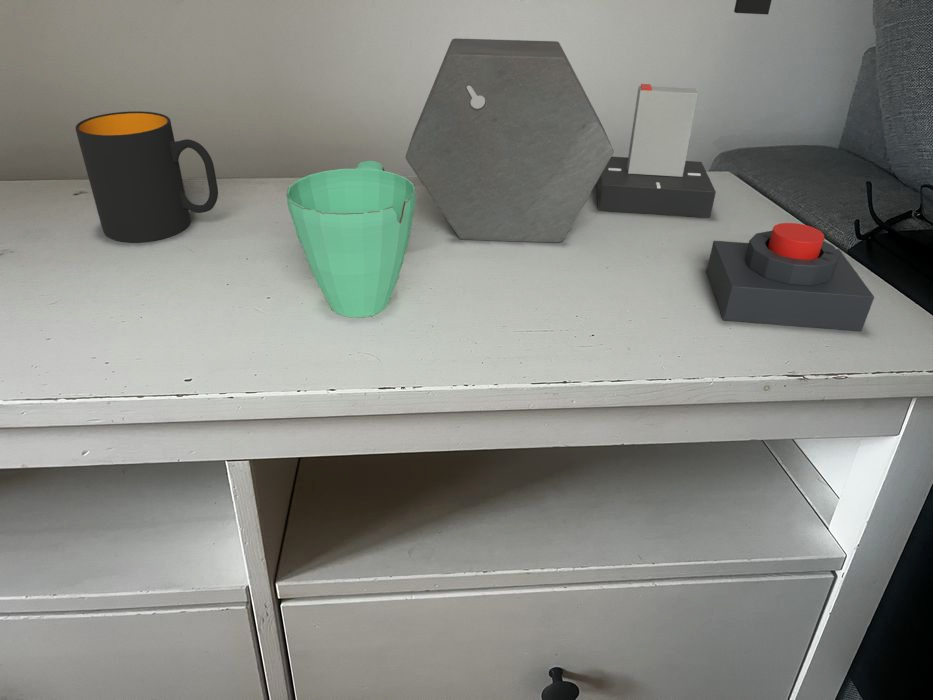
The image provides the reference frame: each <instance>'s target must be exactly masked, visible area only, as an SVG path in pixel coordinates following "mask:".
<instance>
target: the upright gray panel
mask: <svg viewBox="0 0 933 700" xmlns="http://www.w3.org/2000/svg"><path fill="white" fill-rule="evenodd" d="M698 98H699V92H698V90H697V89H696V88H691V87H690V88H689V87H673V86H672V87H670V86H669V87H668V86H653V85H652V84H650V83H649V84H648V83H641V84H640V85H638V88H637V95H636V100H635V109H634V113H633V114H634V115H633V121H632V128H631V134H630V135H631V136H630V143H629V149H628V156H627V157H628V162H627V171H628V174H643V175H660V176H676V177H683V172H684V167H685V161H687V156H688V152H689V151H688V149H689V145H690V140H691V134H692V130H693V124H694V119H695V115H696V108H697V103H698Z"/></svg>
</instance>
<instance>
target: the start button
mask: <svg viewBox="0 0 933 700" xmlns="http://www.w3.org/2000/svg"><path fill="white" fill-rule="evenodd" d="M771 231H772V234H771V237H770V241H769V245H768V249H769V250H771V251H773V252H774V253H776V254H778V255H782V256H785V257H789V258H793V259H805V260H811V259H816V258H818V256H819V253H820V250H821V247H822V244H823V241H825V234H824V233H823V232H822V231H821V230H819V229H817V228H816V227H813V226H810V225H806V224H803V223H798V222H782V223H777V224H775V225H774V226H773V227H772V230H771Z"/></svg>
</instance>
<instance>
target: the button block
mask: <svg viewBox="0 0 933 700" xmlns="http://www.w3.org/2000/svg"><path fill="white" fill-rule="evenodd" d="M771 234H772V230H767V231H761V232H757V233H755V234H754V235H753V236H752V237H751V238H750V239H749V240H748V242H741V241H740V242H738V241H725V240H713V241H712V245H711V250H710V254H709V259H708V262H707V263H708V264H707V267H706V275H707V277H708V281H709V283H710V286H711V288H712V292H713V294H714V297H715V300H716V303H717V306H718V309H719V312H720V314H721V317H722V320H723V321H727V322H738V323H739V322H740V323H751V324H753V323H754V324H763V325H764V324H766V325H778V326H791V327H803V328H814V329H815V328H818V329H830V330H842V331H854V332H862V331H863V329H864V325H865V323H866V320H867V319H868V315H869V312H870V310H871V307H872V305H873V302H874V299H875V296H874V294H873V293H872V291H871V290H870V289H869V288H868V286H867V285H866V283H865V282H864V280H862V278H861V276H860V275H859V274H858V273H857V271H856V270H855V269H854V267H853V266H852V265H851V263H850V261H849V260H847V259H848V258H846V257H845V255H844V254H843V252H842V251H841V250H840V249H839V248H836V247H835V246H834V245H833V244H831V243H829V242H826V241H825V240H824V241H823V244H822V247H821V250H820V253H819V256H818V258H816V259H811V260H805V259H793V258H789V257H785V256H782V255H778V254H776V253H774V252H773V251H771V250H769V249H768V245H769V241H770V237H771Z"/></svg>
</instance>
